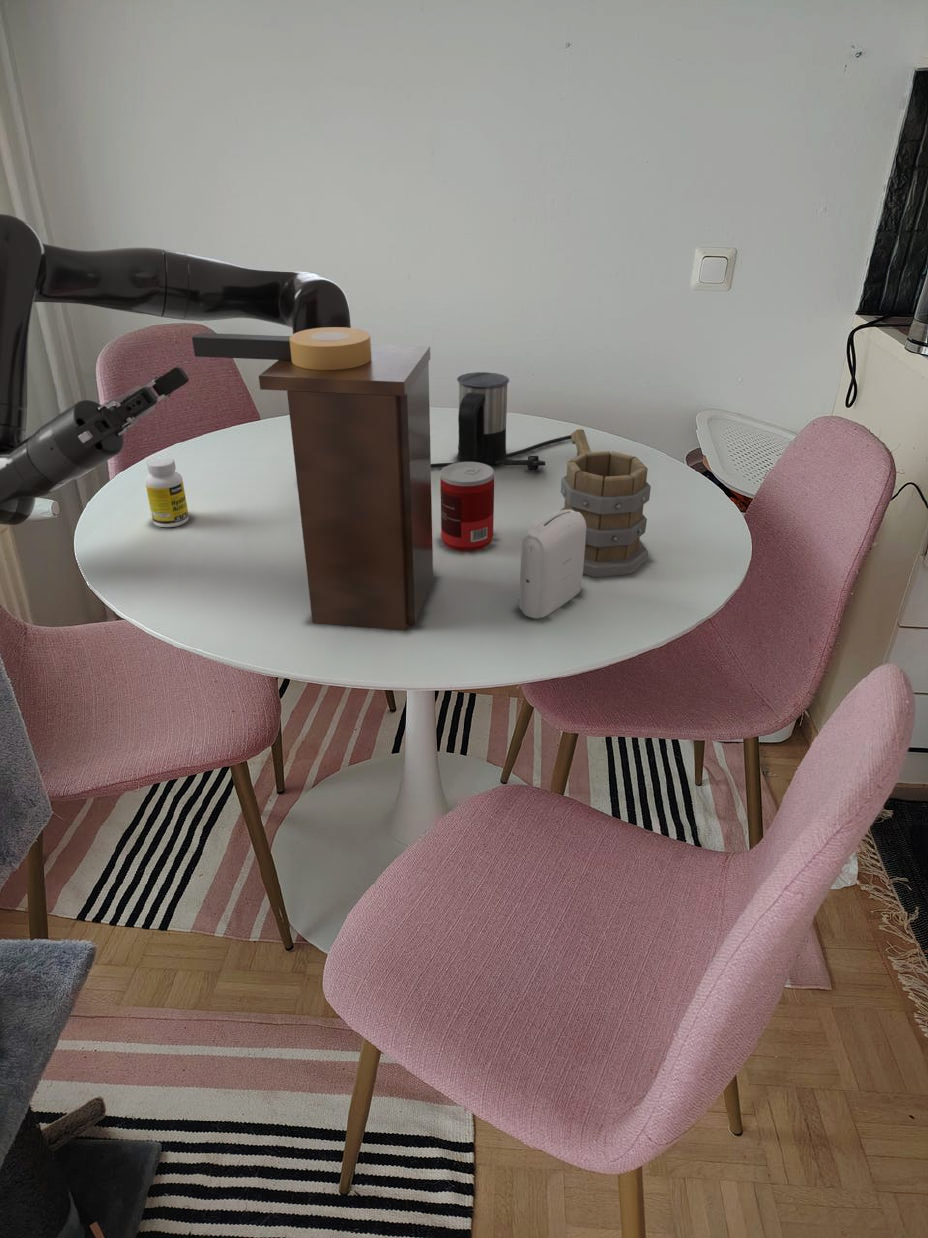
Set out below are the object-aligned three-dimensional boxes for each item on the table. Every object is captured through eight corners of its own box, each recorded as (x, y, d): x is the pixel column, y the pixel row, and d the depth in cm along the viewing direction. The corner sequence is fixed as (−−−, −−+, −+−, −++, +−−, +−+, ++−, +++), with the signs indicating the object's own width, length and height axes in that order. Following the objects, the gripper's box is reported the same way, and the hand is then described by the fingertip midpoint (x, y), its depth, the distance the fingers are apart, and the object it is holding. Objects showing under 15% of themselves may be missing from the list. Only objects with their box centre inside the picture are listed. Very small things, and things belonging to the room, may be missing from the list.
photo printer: (540, 623, 107) (545, 534, 101) (513, 612, 110) (517, 524, 103) (586, 592, 114) (593, 507, 108) (559, 582, 116) (565, 498, 110)
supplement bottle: (179, 529, 131) (167, 469, 125) (146, 526, 131) (134, 466, 126) (195, 515, 135) (185, 456, 130) (164, 512, 136) (152, 453, 131)
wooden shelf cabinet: (289, 621, 108) (258, 375, 92) (323, 565, 121) (301, 341, 104) (413, 631, 106) (404, 381, 90) (434, 573, 119) (430, 346, 102)
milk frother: (457, 450, 160) (457, 370, 152) (542, 451, 159) (546, 371, 151) (454, 479, 148) (454, 394, 140) (546, 480, 147) (550, 395, 139)
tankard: (656, 573, 119) (669, 471, 111) (568, 580, 117) (575, 477, 109) (611, 513, 136) (620, 421, 128) (534, 519, 134) (538, 426, 126)
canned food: (499, 533, 130) (501, 464, 124) (483, 556, 123) (484, 484, 117) (452, 526, 132) (451, 458, 126) (433, 548, 125) (432, 477, 119)
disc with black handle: (379, 351, 100) (378, 328, 99) (360, 372, 93) (358, 347, 92) (213, 344, 103) (210, 322, 102) (182, 364, 96) (177, 340, 94)
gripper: (21, 436, 100) (118, 371, 94) (85, 399, 112) (174, 340, 106) (65, 489, 103) (161, 430, 97) (122, 448, 115) (211, 392, 109)
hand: (168, 383), depth 102 cm, fingers open, 8 cm apart
